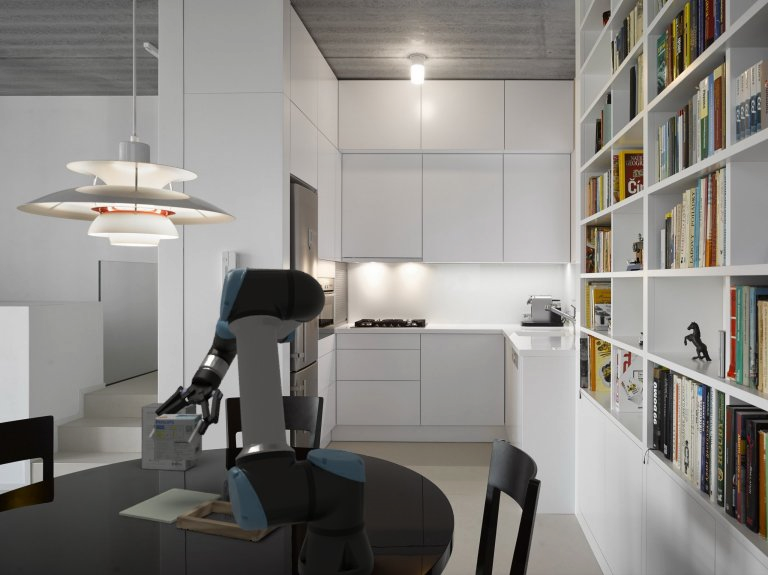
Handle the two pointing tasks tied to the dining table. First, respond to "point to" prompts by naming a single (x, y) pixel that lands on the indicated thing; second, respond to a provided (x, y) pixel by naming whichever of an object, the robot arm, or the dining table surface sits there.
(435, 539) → the dining table surface
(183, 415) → the light bulb box
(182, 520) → the oak frame
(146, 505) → the sage mat
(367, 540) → the robot arm
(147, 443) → the hard drive box
